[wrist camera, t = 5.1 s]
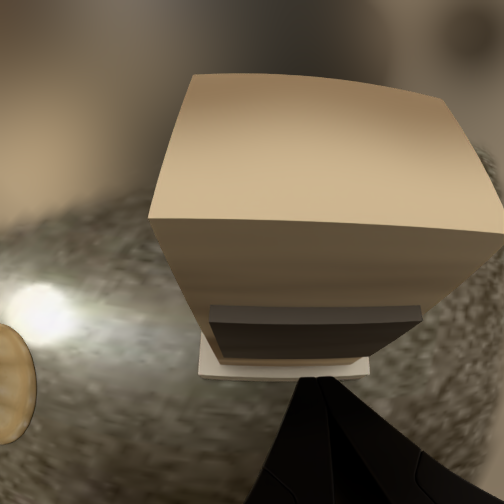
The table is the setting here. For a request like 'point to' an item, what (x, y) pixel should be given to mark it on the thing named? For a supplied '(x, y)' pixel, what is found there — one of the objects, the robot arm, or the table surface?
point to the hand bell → (15, 385)
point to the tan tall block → (318, 215)
